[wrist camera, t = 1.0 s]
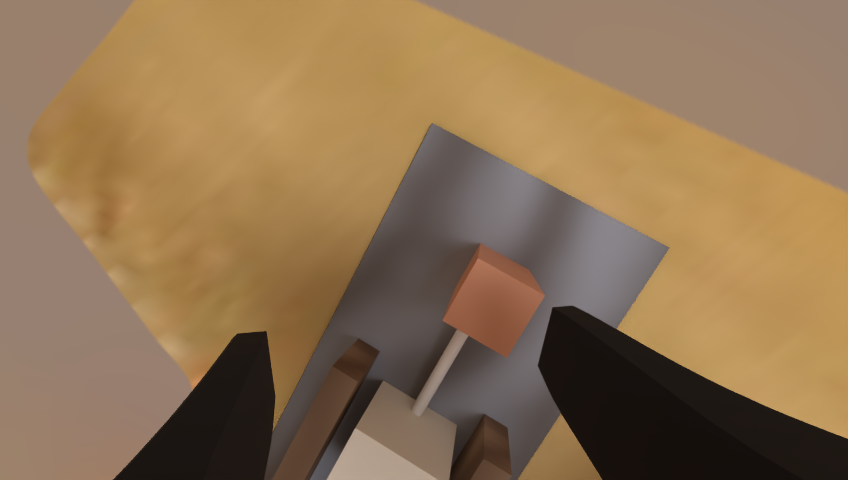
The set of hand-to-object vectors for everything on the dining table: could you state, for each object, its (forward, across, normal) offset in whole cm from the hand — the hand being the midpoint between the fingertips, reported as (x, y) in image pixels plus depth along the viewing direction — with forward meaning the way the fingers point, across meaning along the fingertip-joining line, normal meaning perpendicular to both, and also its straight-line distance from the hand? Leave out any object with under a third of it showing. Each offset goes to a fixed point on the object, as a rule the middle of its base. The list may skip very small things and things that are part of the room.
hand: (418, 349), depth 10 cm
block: (+9, -4, +10) cm, 14 cm away
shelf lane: (+9, -4, +10) cm, 14 cm away
